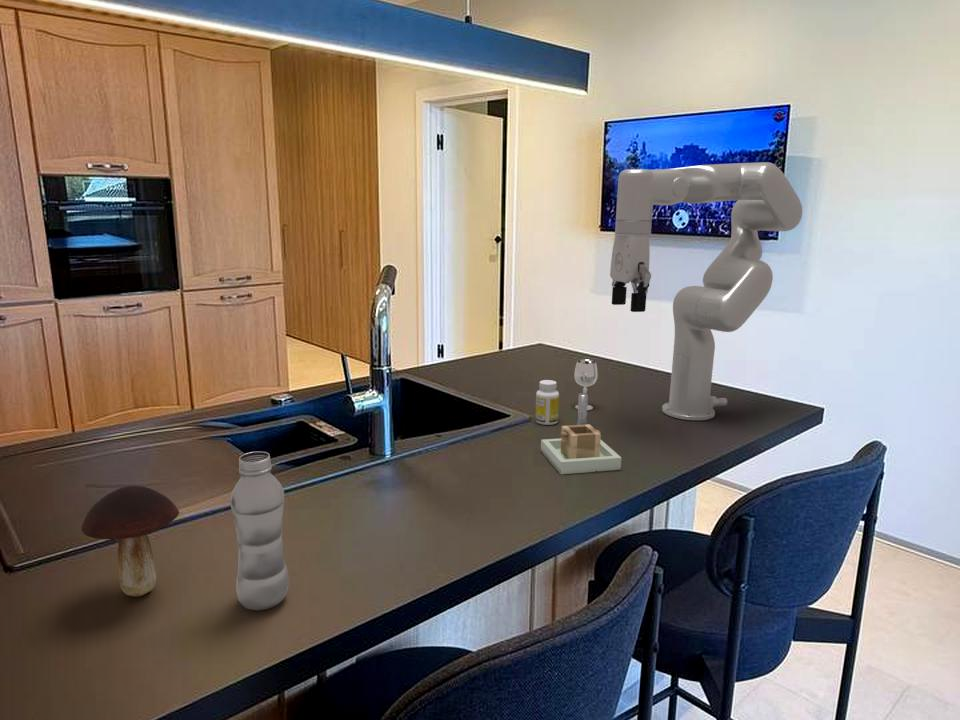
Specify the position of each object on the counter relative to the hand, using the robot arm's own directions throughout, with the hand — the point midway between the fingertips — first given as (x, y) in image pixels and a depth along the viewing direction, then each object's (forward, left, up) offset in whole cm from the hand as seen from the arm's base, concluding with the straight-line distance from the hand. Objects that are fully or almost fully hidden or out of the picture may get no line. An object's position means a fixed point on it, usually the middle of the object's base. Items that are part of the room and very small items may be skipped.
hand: (627, 307), depth 147 cm
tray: (+16, +16, -28) cm, 36 cm away
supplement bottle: (+15, -8, -28) cm, 33 cm away
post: (+11, +4, -28) cm, 31 cm away
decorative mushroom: (+90, +49, -28) cm, 106 cm away
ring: (+16, +16, -28) cm, 36 cm away
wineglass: (+2, -17, -28) cm, 33 cm away
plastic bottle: (+74, +54, -28) cm, 96 cm away
